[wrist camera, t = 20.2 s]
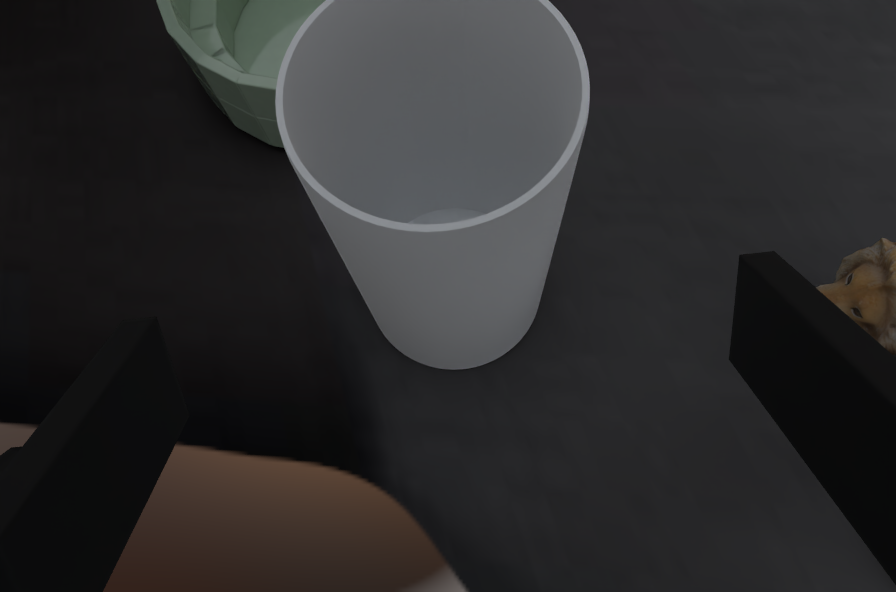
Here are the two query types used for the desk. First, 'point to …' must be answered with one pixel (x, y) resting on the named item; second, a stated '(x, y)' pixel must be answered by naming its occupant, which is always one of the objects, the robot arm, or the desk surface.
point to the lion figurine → (868, 291)
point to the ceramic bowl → (238, 53)
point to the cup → (438, 159)
